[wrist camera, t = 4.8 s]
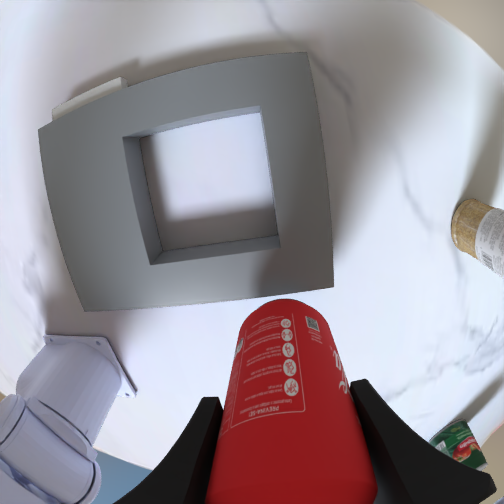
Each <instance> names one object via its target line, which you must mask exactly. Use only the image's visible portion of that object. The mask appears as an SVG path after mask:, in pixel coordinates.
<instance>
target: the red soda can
mask: <svg viewBox="0 0 504 504" xmlns="http://www.w3.org/2000/svg"><path fill="white" fill-rule="evenodd" d="M377 493H378V486H377V482H376V478H375V474H374V470H373V466H372V462H371V459H370V455H369V451H368V448H367V444H366V440H365V437H364V433H363V430H362V427H361V423H360V420H359V416H358V413H357V410H356V407H355V403H354V400H353V397H352V394H351V391H350V387H349V384H348V381H347V378H346V375H345V372H344V369H343V366H342V363H341V360H340V357H339V354H338V351H337V348H336V345H335V342H334V339H333V337H332V334H331V331H330V328H329V325H328V323H327V321H326V320H325V319H324V317H323V316H322V315H321V314H320V313H319V312H318V311H317V310H315V309H314V308H312V307H310V306H308V305H306V304H305V303H303V302H300V301H298V300H293V299H277V300H273V301H270V302H267V303H265V304H263V305H262V306H260V307H259V308H258V309H257V310H255V311H254V312H252V313H251V314H250V315H249V316H248V317H247V318H246V320H245V321H244V323H243V324H242V326H241V328H240V331H239V336H238V341H237V346H236V351H235V356H234V361H233V366H232V371H231V376H230V381H229V385H228V390H227V395H226V400H225V405H224V410H223V415H222V420H221V425H220V430H219V435H218V440H217V445H216V450H215V455H214V459H213V464H212V469H211V474H210V479H209V484H208V489H207V494H206V498H205V504H373V503H374V501H375V498H376V496H377Z"/></svg>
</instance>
